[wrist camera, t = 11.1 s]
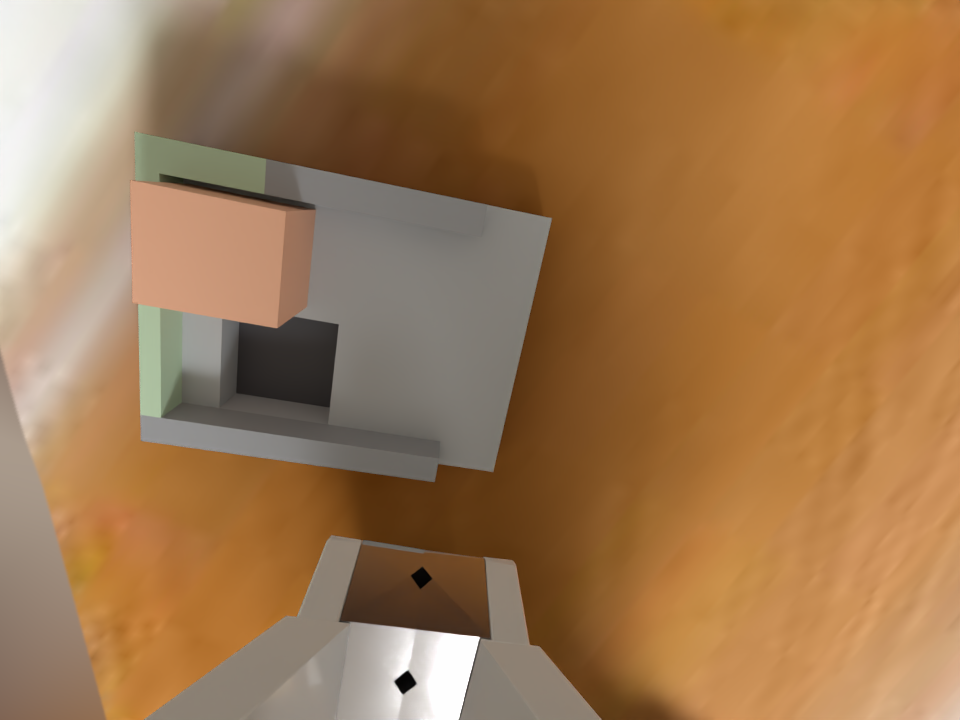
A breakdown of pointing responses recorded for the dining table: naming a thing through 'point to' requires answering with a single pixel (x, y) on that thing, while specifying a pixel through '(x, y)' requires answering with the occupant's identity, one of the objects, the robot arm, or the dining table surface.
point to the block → (219, 253)
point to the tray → (350, 328)
